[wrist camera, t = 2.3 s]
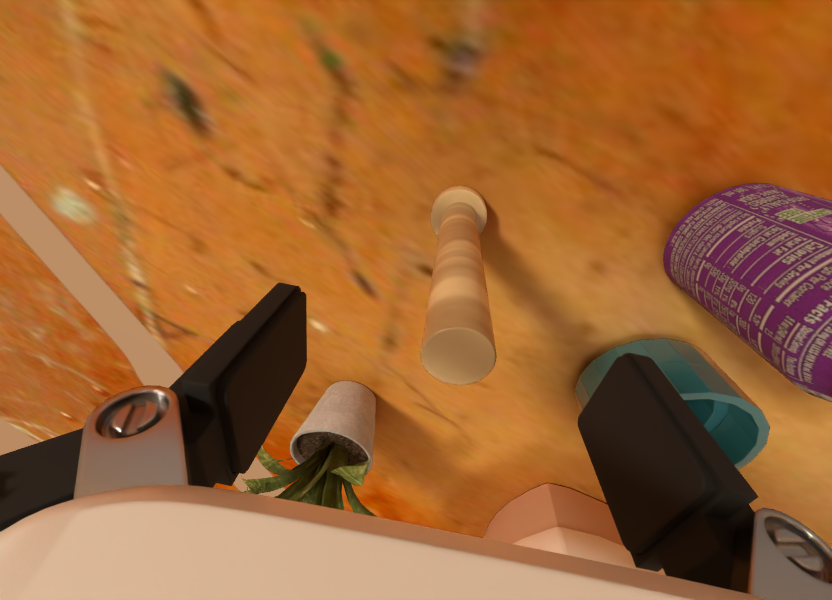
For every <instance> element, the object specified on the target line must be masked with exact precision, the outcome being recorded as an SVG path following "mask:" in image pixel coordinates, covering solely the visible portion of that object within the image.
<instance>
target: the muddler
mask: <svg viewBox="0 0 832 600" xmlns="http://www.w3.org/2000/svg"><path fill="white" fill-rule="evenodd" d="M486 222H487V209H486V205H485V202H484V200H483V198H482V196H481V195H480V194H479V193H478V192H477V191H476V190H474V189H473V188H471V187H468V186H463V185H456V186H452V187H449V188H447V189H445V190H443V191H442V192H441V193H440V194H439V195H438V196H437V198H436V199H435V201H434V203H433V206H432V210H431V225H432V228H433V230H434V231H435V233H436V234H437V236H438V242H437V249H436V255H435V262H434V269H433V275H432V282H431V288H430V295H429V302H428V308H427V315H426V321H425V328H424V335H423V341H422V348H421V361H422V363H423V366H424V367H425V369H426V370H427V372H428V373H429V374H430V375H432V376H433V377H434V378H436V379H437V380H439V381H442V382H444V383H448V384H453V385H466V384H471V383H475V382H477V381H479V380H481V379H483V378H485V377H486V376H487V375H488V374H489V373H490V372H491V371H492V369H493V367H494V365H495V362H496V349H495V342H494V335H493V328H492V321H491V315H490V308H489V301H488V294H487V287H486V280H485V273H484V267H483V260H482V253H481V246H480V239H479V235H480V234H481V233H482V231H483V230H484V228H485V225H486Z"/></svg>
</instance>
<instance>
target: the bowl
mask: <svg viewBox="0 0 832 600" xmlns="http://www.w3.org/2000/svg"><path fill="white" fill-rule="evenodd" d="M483 538H485V539H490V540H495V541H500V542H505V543H510V544H515V545H520V546H525V547H530V548H535V549H540V550H545V551H550V552H554V553H559V554H564V555H569V556H574V557H579V558H584V559H588V560H593V561H598V562H603V563H608V564H613V565H617V566H622V567H627V568H632V569H637V570H642V571H646V572H651V573H656V574H661V575H666V574H665V572H664V570H663V568H662V569H661V570H660V571H658V572H656V571H651V570H646V569H641V568H636V566H635V564H634V561H633V558H632V556H631V553H630V552H629V551H628V550H627V549H626V548H625V547H624V545H623V543H622V541H621V538H620V535H619V533H618V530H617V528H616V525H615V522H614V520H613V517H612V514H611V512H610V509H609V506H608V505H607V504H605V503H603V502H601V501H598V500H596V499H594V498H592V497H589V496H587V495H584V494H582V493H580V492H577V491H575V490H573V489H570V488H567V487H562V486H558V485H554V484H550V483H546V484H544V485H541V486H539V487H536V488H534V489H532V490H529V491H527V492H526V493H524V494H522V495H520V496H519V497H517V498H515V499H514V500H512V501H510V502H509V503H508V504H507V505H506V506H504V507H503V508H502V509H501V510H500V511H499V512H497V513H496V515H495V516H494V518H493V519H492V520H491V522H490V524H489V526H488V528H487V530H486V533H485V535H484V537H483Z"/></svg>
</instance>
